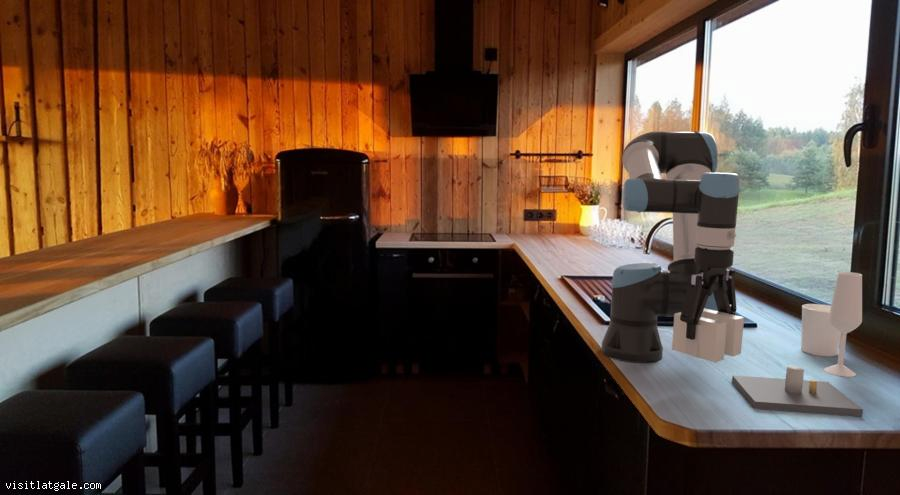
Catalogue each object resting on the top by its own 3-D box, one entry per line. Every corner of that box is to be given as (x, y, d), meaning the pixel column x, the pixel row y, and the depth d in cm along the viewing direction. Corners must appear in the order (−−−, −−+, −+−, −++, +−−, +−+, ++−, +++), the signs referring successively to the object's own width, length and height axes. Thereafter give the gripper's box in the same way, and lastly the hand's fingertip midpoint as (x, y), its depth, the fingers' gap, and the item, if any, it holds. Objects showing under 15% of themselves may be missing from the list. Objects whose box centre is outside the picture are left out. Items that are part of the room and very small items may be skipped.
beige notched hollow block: (671, 349, 136) (674, 313, 135) (698, 341, 142) (701, 307, 141) (714, 362, 128) (717, 324, 127) (740, 353, 134) (744, 317, 133)
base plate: (754, 408, 127) (757, 377, 126) (731, 381, 142) (734, 354, 141) (862, 416, 124) (865, 384, 123) (827, 388, 139) (830, 360, 138)
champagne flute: (843, 378, 146) (854, 276, 143) (817, 369, 152) (826, 271, 149) (862, 374, 149) (873, 275, 146) (835, 366, 155) (845, 270, 152)
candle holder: (846, 359, 161) (851, 313, 160) (805, 355, 163) (809, 310, 162) (831, 348, 171) (836, 305, 169) (792, 345, 173) (796, 302, 171)
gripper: (699, 253, 122) (691, 363, 125) (760, 245, 135) (751, 344, 138) (666, 248, 128) (659, 353, 131) (727, 240, 141) (719, 336, 144)
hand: (706, 349), depth 135 cm, fingers closed on beige notched hollow block, 10 cm apart
